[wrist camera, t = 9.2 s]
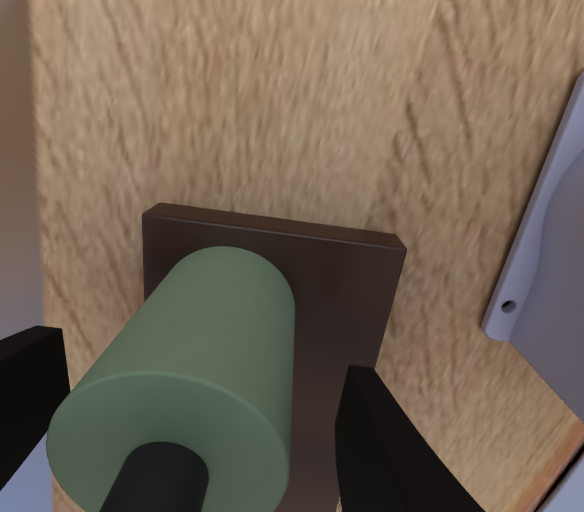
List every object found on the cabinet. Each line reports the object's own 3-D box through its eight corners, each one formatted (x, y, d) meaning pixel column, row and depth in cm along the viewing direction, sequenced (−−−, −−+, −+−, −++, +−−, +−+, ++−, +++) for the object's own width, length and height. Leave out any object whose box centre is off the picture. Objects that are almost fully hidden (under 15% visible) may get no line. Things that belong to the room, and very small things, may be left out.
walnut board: (311, 564, 20) (312, 597, 19) (162, 548, 20) (152, 580, 19) (397, 233, 13) (408, 248, 11) (158, 201, 12) (140, 212, 11)
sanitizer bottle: (286, 369, 13) (269, 655, 6) (162, 353, 13) (3, 628, 6) (304, 255, 11) (308, 476, 5) (161, 236, 11) (-60, 433, 4)
